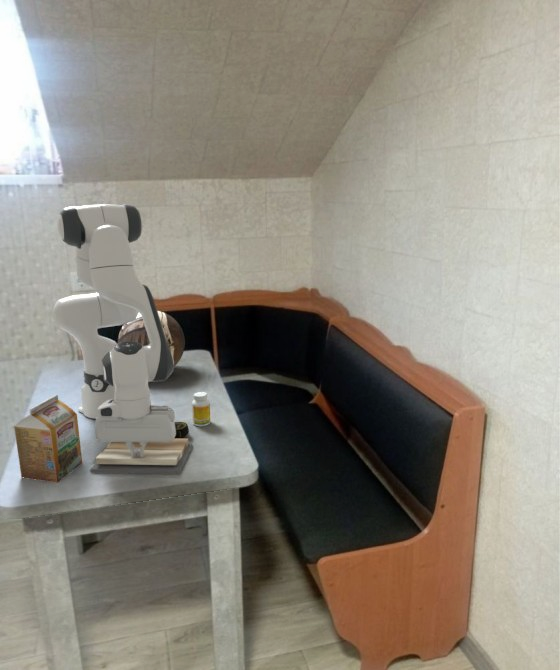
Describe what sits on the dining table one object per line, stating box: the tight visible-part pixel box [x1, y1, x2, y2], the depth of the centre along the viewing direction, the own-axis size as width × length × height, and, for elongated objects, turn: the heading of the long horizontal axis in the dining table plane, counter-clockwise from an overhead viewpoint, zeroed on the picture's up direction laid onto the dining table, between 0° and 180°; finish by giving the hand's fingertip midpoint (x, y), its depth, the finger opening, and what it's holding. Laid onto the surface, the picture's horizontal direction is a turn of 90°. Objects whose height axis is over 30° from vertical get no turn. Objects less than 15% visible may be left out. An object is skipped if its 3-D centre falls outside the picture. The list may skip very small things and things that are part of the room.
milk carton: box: [13, 394, 83, 484], centre depth 147 cm, size 11×11×19 cm
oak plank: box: [105, 438, 190, 455], centre depth 158 cm, size 7×21×2 cm, turn 86°
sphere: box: [117, 310, 186, 367], centre depth 221 cm, size 25×25×25 cm
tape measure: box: [174, 421, 190, 439], centre depth 167 cm, size 7×7×4 cm
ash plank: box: [95, 448, 182, 465], centre depth 151 cm, size 7×21×2 cm, turn 86°
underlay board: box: [90, 442, 193, 475], centre depth 154 cm, size 16×23×1 cm
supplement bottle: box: [191, 391, 211, 427], centre depth 176 cm, size 5×5×10 cm
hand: (138, 456), depth 149 cm, fingers closed, pressing on ash plank
